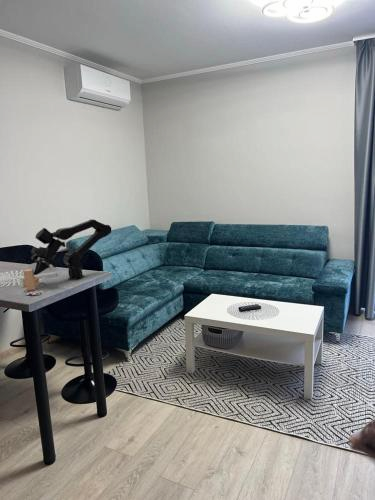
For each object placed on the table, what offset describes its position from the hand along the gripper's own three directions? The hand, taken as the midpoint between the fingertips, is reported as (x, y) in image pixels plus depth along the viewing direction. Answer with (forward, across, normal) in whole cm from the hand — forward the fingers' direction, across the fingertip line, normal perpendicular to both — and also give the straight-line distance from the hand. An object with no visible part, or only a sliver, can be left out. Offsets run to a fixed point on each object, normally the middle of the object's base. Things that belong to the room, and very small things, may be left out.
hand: (34, 274), depth 187 cm
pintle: (+4, -8, +7) cm, 11 cm away
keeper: (+6, -9, +4) cm, 11 cm away
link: (+5, -4, +5) cm, 8 cm away
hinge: (-3, -21, +14) cm, 25 cm away
